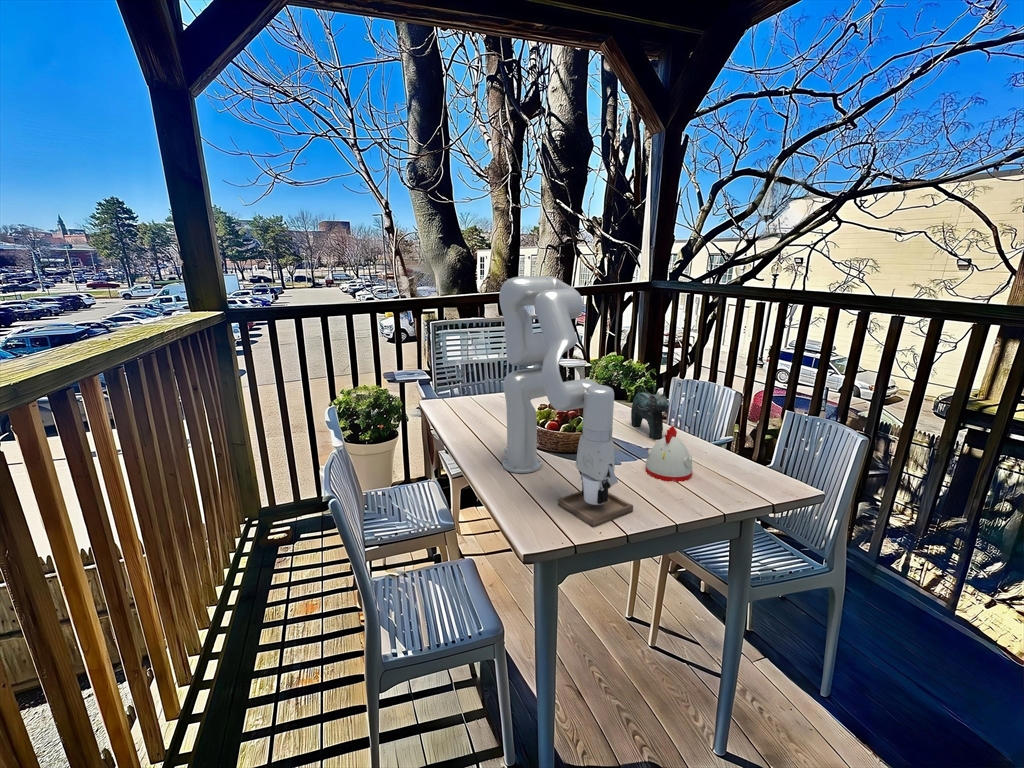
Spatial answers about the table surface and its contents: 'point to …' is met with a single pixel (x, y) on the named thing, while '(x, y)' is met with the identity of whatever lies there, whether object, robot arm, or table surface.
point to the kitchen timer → (669, 459)
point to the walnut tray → (595, 508)
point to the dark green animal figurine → (649, 412)
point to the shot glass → (591, 489)
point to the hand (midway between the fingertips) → (594, 497)
